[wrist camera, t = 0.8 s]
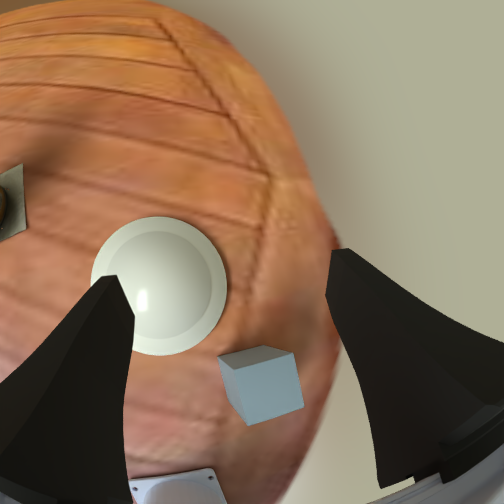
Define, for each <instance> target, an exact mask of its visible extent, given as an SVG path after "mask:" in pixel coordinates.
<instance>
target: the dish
mask: <svg viewBox="0 0 504 504" xmlns="http://www.w3.org/2000/svg"><path fill="white" fill-rule="evenodd" d="M107 275H117V277H118V279H119V281H120V284H121V286H122V288H123V291H124V293H125V295H126V297H127V300H128V302H129V304H130V306H131V308H132V311H133V313H134V315H135V329H134V342H133V348H132V350H135V351H137V352H141V353H144V354H149V355H171V354H175V353H179V352H182V351H185V350H187V349H190V348H191V347H193V346H195V345H196V344H198V343H199V342H200V341H202V340H203V339H204V338H205V337H206V336H207V335H208V334H209V333H210V332H211V331H212V329H213V328H214V327H215V325H216V324H217V322H218V320H219V318H220V316H221V314H222V311H223V309H224V305H225V301H226V294H227V280H226V273H225V269H224V265H223V263H222V260H221V258H220V255H219V254H218V252H217V250H216V248H215V247H214V246H213V244H212V243H211V242H210V240H209V239H208V238H207V237H206V236H205V235H204V234H202V233H201V232H200V231H199V230H198V229H196V228H194V227H193V226H191V225H190V224H187V223H185V222H183V221H180V220H177V219H174V218H168V217H147V218H142V219H138V220H136V221H133V222H130V223H128V224H127V225H125V226H123V227H121V228H120V229H119V230H117V231H116V232H115V233H114V234H113V235H111V236H110V237H109V239H108V240H107V241H106V242H105V243H104V245H103V246H102V248H101V249H100V251H99V253H98V255H97V257H96V259H95V263H94V266H93V269H92V275H91V286H92V285H93V284H94V283H95V282H96V281H97V280H98V279H99V278H100V277H101V276H107Z"/></svg>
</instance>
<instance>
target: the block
mask: <svg viewBox="0 0 504 504" xmlns="http://www.w3.org/2000/svg"><path fill="white" fill-rule="evenodd" d="M217 357H218V361H219V366H220V370H221V374H222V378H223V382H224V385H225V389H226V393H227V397H228V401H229V402H230V403H231V405H232V406H233V407H234V409H235V410H236V411H237V413H238V414H239V415H240V417H241V418H242V419H243V420H244V422H245V423H246V424H247V426H250V425H253V424H257V423H260V422H263V421H266V420H269V419H272V418H275V417H278V416H281V415H284V414H287V413H290V412H292V411H295V410H298V409H300V408H303V407H304V402H303V397H302V392H301V387H300V382H299V377H298V372H297V368H296V363H295V358H294V353H292V352H288V351H284V350H280V349H277V348H273V347H269V346H266V345H262V346H258V347H254V348H250V349H246V350H242V351H238V352H234V353H230V354H226V355H222V356H217Z"/></svg>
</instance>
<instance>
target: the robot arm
mask: <svg viewBox="0 0 504 504" xmlns="http://www.w3.org/2000/svg"><path fill="white" fill-rule="evenodd" d="M325 296H326V299H327V303H328V306H329V309H330V313H331V316H332V319H333V322H334V324H335V326H336V329H337V331H338V333H339V335H340V338H341V340H342V342H343V345H344V347H345V349H346V351H347V354H348V356H349V358H350V361H351V363H352V365H353V368H354V370H355V372H356V375H357V378H358V381H359V384H360V387H361V391H362V394H363V398H364V402H365V406H366V410H367V414H368V418H369V422H370V427H371V433H372V439H373V444H374V451H375V459H376V468H377V480H378V483H379V486H380V488H381V489H382V488H385V487H388V486H391V485H393V484H396V483H399V482H401V481H404V480H406V479H408V478H410V477H412V476H413V477H414V481H415V484H413V485H411V486H408V487H406V488H404V489H402V490H400V491H398V492H395V493H393V494H391V495H388V496H386V497H383V498H381V499H378V500H376V501H373V502H370V503H367V504H504V343H503V342H500V341H498V340H495V339H493V338H490V337H488V336H485V335H483V334H481V333H479V332H477V331H474V330H472V329H470V328H468V327H466V326H464V325H462V324H460V323H458V322H456V321H454V320H453V319H451V318H449V317H447V316H446V315H444V314H442V313H441V312H439V311H437V310H436V309H434V308H432V307H431V306H429V305H427V304H426V303H424V302H423V301H421V300H420V299H418V298H417V297H415V296H414V295H412V294H411V293H410V292H408V291H407V290H405V289H404V288H402V287H401V286H400V285H398V284H397V283H395V282H394V281H393V280H391V279H390V278H389V277H387V276H386V275H385V274H383V273H382V272H381V271H379V270H378V269H377V268H375V267H374V266H373V265H371V264H370V263H369V262H367V261H366V260H365V259H363V258H362V257H361V256H359V255H358V254H356V253H355V252H354V251H352V250H351V249H349V248H346V249H337V250H332V253H331V261H330V268H329V275H328V281H327V288H326V294H325ZM134 329H135V315H134V313H133V311H132V308H131V306H130V304H129V302H128V300H127V297H126V295H125V293H124V291H123V288H122V286H121V284H120V281H119V279H118V277H117V275H107V276H101V277H100V278H99V279H98V280H97V281H96V282H95V283H94V284H93V285H92V286H91V287H90V288H89V290H88V291H87V292H86V293H85V294H84V295H83V296H82V298H81V299H80V300H79V301H78V302H77V303H76V305H75V306H74V307H73V308H72V309H71V310H70V312H69V313H68V314H67V315H66V316H65V318H64V319H63V320H62V321H61V322H60V323H59V324H58V326H57V327H56V328H55V329H54V330H53V331H52V332H51V334H50V335H49V336H48V337H47V338H46V339H45V340H44V342H43V343H42V344H41V345H40V346H39V347H38V348H37V349H36V350H35V351H34V352H33V353H32V354H31V355H30V356H29V357H28V358H27V359H26V360H25V361H24V362H23V363H22V364H21V365H20V366H19V367H18V368H17V369H16V370H14V371H13V372H12V373H11V374H10V375H9V376H8V377H7V378H6V379H5V380H4V381H2V382H1V383H0V504H133V499H132V496H131V492H132V494H133V496H134V498H135V499H136V501H137V503H138V504H227V502H226V500H225V497H224V495H223V492H222V490H221V487H220V485H219V482H218V480H217V477H216V475H215V472H214V470H213V469H211V468H205V469H201V470H196V471H190V472H185V473H179V474H173V475H166V476H158V477H150V478H140V479H130V480H128V476H127V469H126V462H125V453H124V437H123V405H124V395H125V388H126V382H127V376H128V370H129V364H130V359H131V353H132V348H133V342H134ZM209 476H213V477H212V478H208V477H209ZM133 487H136V488H137V489H134V488H133ZM130 490H131V491H130Z"/></svg>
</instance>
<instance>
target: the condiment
mask: <svg viewBox="0 0 504 504" xmlns="http://www.w3.org/2000/svg"><path fill="white" fill-rule="evenodd" d="M5 188H7V189H9V190H7V189H6V190H5ZM25 220H26V218H25V208H24V187H23V163H22V164H20V165H18V166H16V167H14V168H12V169H10V170H7V171H6V172H4V173H2V174H0V241H2V240H4V239H6V238H9V237H11V236H13V235H14V234H16V233H18V232H20V231H23V230H25V229H26V222H25ZM1 228H3V229H1Z"/></svg>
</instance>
